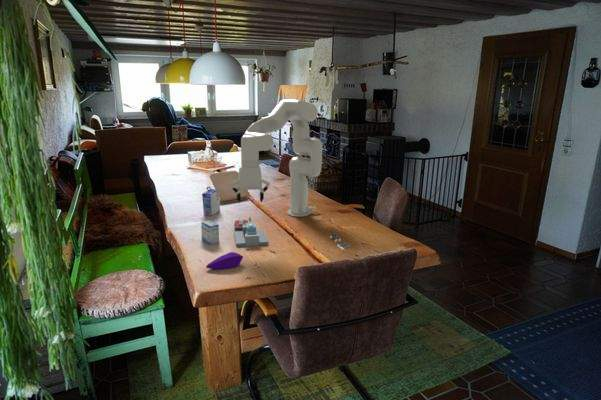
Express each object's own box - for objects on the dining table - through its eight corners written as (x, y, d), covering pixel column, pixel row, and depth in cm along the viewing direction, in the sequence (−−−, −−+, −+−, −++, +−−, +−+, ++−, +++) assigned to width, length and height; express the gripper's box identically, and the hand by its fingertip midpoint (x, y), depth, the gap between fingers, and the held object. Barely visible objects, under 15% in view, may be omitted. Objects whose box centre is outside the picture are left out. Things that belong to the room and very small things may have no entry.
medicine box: (201, 239, 182) (200, 221, 180) (210, 237, 185) (209, 219, 183) (211, 244, 177) (210, 226, 174) (219, 242, 180) (219, 224, 177)
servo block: (253, 235, 189) (253, 219, 187) (256, 243, 179) (256, 227, 177) (245, 235, 188) (245, 219, 186) (247, 244, 178) (247, 227, 176)
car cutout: (324, 239, 188) (325, 230, 187) (337, 237, 191) (337, 228, 190) (341, 251, 175) (342, 241, 174) (354, 248, 178) (355, 239, 177)
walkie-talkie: (252, 234, 191) (251, 220, 210) (252, 225, 190) (251, 212, 209) (234, 234, 190) (235, 220, 209) (233, 226, 189) (234, 212, 208)
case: (221, 205, 234) (220, 178, 229) (204, 196, 249) (203, 171, 245) (250, 200, 246) (250, 174, 242) (233, 192, 262) (233, 168, 257)
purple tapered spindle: (203, 259, 154) (240, 248, 160) (205, 270, 155) (241, 259, 162) (206, 264, 150) (244, 253, 156) (208, 275, 151) (245, 264, 158)
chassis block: (263, 232, 192) (263, 223, 191) (268, 244, 178) (268, 235, 177) (234, 234, 189) (234, 225, 188) (236, 246, 175) (236, 237, 174)
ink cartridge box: (211, 209, 225) (210, 184, 221) (220, 210, 223) (219, 185, 219) (202, 214, 215) (201, 188, 211) (211, 216, 214) (211, 189, 210)
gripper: (268, 161, 179) (268, 198, 184) (229, 162, 175) (230, 199, 180) (271, 165, 172) (270, 203, 177) (230, 165, 168) (231, 204, 173)
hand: (250, 201), depth 179 cm, fingers open, 9 cm apart
